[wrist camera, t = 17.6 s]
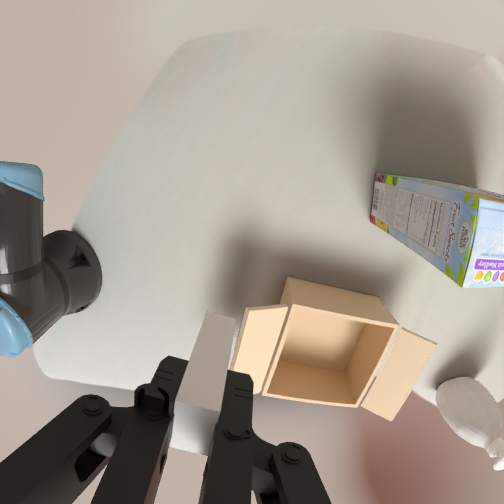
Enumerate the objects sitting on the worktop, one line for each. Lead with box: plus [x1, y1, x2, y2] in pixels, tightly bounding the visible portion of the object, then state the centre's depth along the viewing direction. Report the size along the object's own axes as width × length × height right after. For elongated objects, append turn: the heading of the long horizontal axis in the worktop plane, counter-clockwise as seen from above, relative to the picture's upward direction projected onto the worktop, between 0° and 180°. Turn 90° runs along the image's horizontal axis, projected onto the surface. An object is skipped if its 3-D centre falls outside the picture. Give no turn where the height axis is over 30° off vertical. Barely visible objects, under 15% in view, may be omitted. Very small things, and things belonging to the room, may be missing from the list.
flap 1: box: [230, 304, 288, 394], centre depth 40 cm, size 6×15×1 cm
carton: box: [262, 276, 399, 407], centre depth 47 cm, size 16×16×10 cm
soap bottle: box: [436, 377, 504, 470], centre depth 42 cm, size 14×8×27 cm, turn 90°
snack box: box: [370, 173, 504, 288], centre depth 32 cm, size 22×9×26 cm, turn 88°
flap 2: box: [361, 327, 437, 421], centre depth 41 cm, size 6×15×1 cm
